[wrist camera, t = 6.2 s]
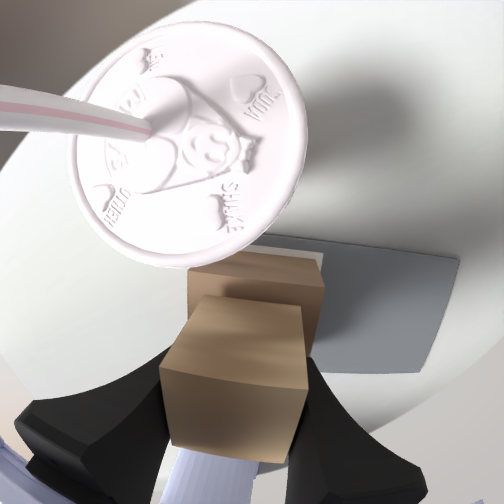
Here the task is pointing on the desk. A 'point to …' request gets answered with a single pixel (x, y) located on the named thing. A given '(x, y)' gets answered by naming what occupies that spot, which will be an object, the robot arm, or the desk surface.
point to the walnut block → (262, 284)
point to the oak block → (236, 379)
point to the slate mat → (371, 303)
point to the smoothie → (178, 142)
